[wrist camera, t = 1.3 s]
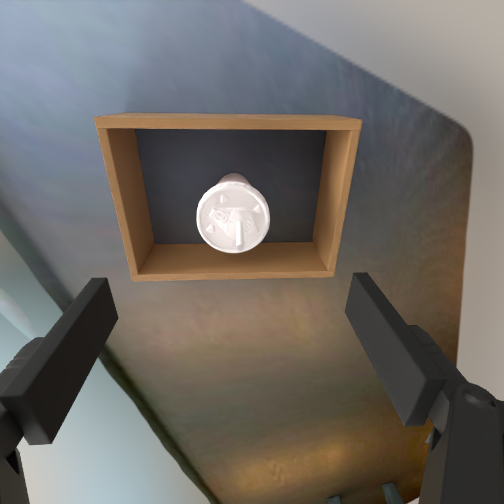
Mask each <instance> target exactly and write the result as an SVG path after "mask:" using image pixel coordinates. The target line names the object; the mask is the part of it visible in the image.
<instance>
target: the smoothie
mask: <svg viewBox="0 0 504 504" xmlns="http://www.w3.org/2000/svg"><path fill="white" fill-rule="evenodd" d="M269 224H270V214H269V209H268V205H267V203H266V201H265V199H264V197H263V196H262V195H261V194H260V193H259V191H258V190H256V189H255V188H253V187H252V186H251V185H250V184H249V182H248V181H247V179H246V178H245V177H244V176H242V175H240V174H238V173H229V174H227V175H225V176H223V177H222V178H221V180H220V181H219V182H218V184H217V185H216V186H214V187H212V188H211V189H210V190H208V191H207V192H206V193H205V194H204V195H203V197H202V199H201V201H200V202H199V205H198V209H197V226H198V230H199V232H200V234H201V236H202V237H203V239H204V240H205V241H206V242H207V243H208V244H209V245H211V246H212V247H214V248H215V249H217V250H220V251H223V252H227V253H240V252H244V251H247V250H250V249H252V248H253V247H255V246H256V245H258V244H259V243H260V242H261V241H262V240H263V238H264V237H265V235H266V233H267V231H268V229H269Z"/></svg>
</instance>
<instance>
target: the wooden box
mask: <svg viewBox="0 0 504 504" xmlns="http://www.w3.org/2000/svg"><path fill="white" fill-rule="evenodd" d="M94 120H95V124H96V128H97V132H98V137H99V141H100V145H101V149H102V154H103V158H104V162H105V166H106V171H107V175H108V179H109V183H110V188H111V192H112V196H113V201H114V205H115V209H116V213H117V218H118V222H119V226H120V230H121V235H122V239H123V243H124V247H125V252H126V256H127V260H128V264H129V269H130V273H131V278H132V281H162V280H210V279H258V278H306V277H334V272H335V266H336V261H337V256H338V250H339V245H340V239H341V234H342V228H343V223H344V218H345V212H346V207H347V201H348V196H349V191H350V185H351V180H352V174H353V169H354V164H355V158H356V153H357V147H358V142H359V136H360V130H361V126H362V121H363V120H360V119H355V118H349V117H344V116H338V115H283V114H195V113H119V114H112V115H105V116H98V117H94ZM135 128H147V129H266V130H327V132H326V139H325V147H324V155H323V162H322V170H321V178H320V185H319V193H318V201H317V208H316V216H315V224H314V231H313V239H312V242H276V243H259V244H258V245H256V246H255V247H253V248H252V249H250V250H247V251H244V252H240V253H227V252H223V251H220V250H217V249H215V248H214V247H212V246H211V245H209V244H208V243H204V244H155V242H154V236H153V230H152V225H151V219H150V213H149V207H148V202H147V196H146V190H145V184H144V179H143V173H142V167H141V161H140V156H139V150H138V144H137V138H136V133H135Z"/></svg>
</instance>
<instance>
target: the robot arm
mask: <svg viewBox="0 0 504 504" xmlns="http://www.w3.org/2000/svg"><path fill="white" fill-rule="evenodd" d="M345 313H346V315H347V317H348V319H349V321H350V323H351V325H352V327H353V329H354V331H355V333H356V335H357V336H358V338H359V340H360V342H361V344H362V346H363V348H364V350H365V352H366V354H367V356H368V358H369V360H370V361H371V363H372V365H373V367H374V369H375V371H376V373H377V375H378V377H379V379H380V381H381V383H382V385H383V386H384V388H385V390H386V392H387V394H388V396H389V398H390V400H391V402H392V404H393V406H394V408H395V410H396V411H397V413H398V415H399V417H400V419H401V421H402V423H403V425H404V426H418V425H424V423H425V421H426V419H427V417H428V416H429V418H430V419H431V421H432V423H433V424H434V427H433V429H432V431H431V433H430V435H429V436H428V438H427V440H426V442H427V443H428V444H429V448H428V454H427V459H426V465H425V470H424V476H423V481H422V487H421V492H420V497H419V503H418V504H504V401H500V400H497V399H496V398H495V397H494V396H493V395H492V394H490V393H489V392H488V391H487V390H485V389H483V388H482V387H480V386H478V385H475V384H472V383H469V382H468V381H467V380H466V379H465V378H464V376H462V374H461V373H460V372H459V371H458V369H457V368H456V367H455V366H454V364H453V363H452V362H451V361H450V360H449V358H448V357H447V356H446V355H445V353H443V352H442V350H441V349H440V347H439V346H438V345H436V343H435V341H434V340H433V339H432V338H431V337H430V335H429V334H428V333H427V332H425V331H424V330H423V329H421V328H420V327H418V326H417V325H407V324H406V323H405V321H404V320H403V319H402V317H401V316H400V315H399V314H398V312H397V311H396V310H395V308H394V307H393V306H392V304H391V303H390V302H389V301H388V299H387V298H386V297H385V295H384V294H383V293H382V291H381V290H380V289H379V287H378V286H377V285H376V284H375V282H374V281H373V280H372V278H371V277H370V276H369V274H368V273H353V277H352V281H351V286H350V290H349V295H348V299H347V304H346V309H345ZM117 320H118V315H117V311H116V308H115V304H114V301H113V297H112V293H111V290H110V286H109V283H108V279H107V278H91V280H90V281H89V282H88V283H87V285H86V286H85V287H84V289H83V290H82V291H81V292H80V294H79V295H78V296H77V297H76V299H75V300H74V301H73V302H72V304H71V305H70V306H69V307H68V309H67V310H66V311H65V312H64V314H63V315H62V316H61V317H60V319H59V320H58V321H57V322H56V324H55V325H54V326H53V327H52V329H51V330H50V331H49V333H48V334H47V335H46V336H45V337H38V338H35V339H33V340H32V341H30V342H29V343H28V344H26V345H25V346H24V347H23V348H22V349H21V350H20V351H19V352H18V353H17V355H16V356H15V357H14V359H13V360H12V361H10V363H9V364H8V365H7V366H6V369H4V370H3V371H2V372H1V373H0V504H30V503H29V498H28V493H27V488H26V483H25V478H24V473H23V468H22V463H21V457H20V453H19V451H18V449H17V448H16V447H17V445H18V444H19V442H20V441H21V439H22V437H23V436H24V438H25V439H26V441H27V442H28V444H29V445H43V444H52V442H53V440H54V438H55V437H56V435H57V433H58V431H59V429H60V427H61V425H62V423H63V422H64V420H65V418H66V416H67V414H68V412H69V410H70V408H71V407H72V405H73V403H74V401H75V399H76V397H77V395H78V393H79V391H80V390H81V388H82V386H83V384H84V382H85V380H86V378H87V376H88V374H89V373H90V371H91V369H92V367H93V365H94V363H95V361H96V359H97V358H98V356H99V354H100V352H101V350H102V348H103V346H104V344H105V342H106V341H107V339H108V337H109V335H110V333H111V331H112V329H113V327H114V326H115V324H116V322H117Z"/></svg>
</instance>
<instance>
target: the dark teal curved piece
mask: <svg viewBox="0 0 504 504" xmlns="http://www.w3.org/2000/svg"><path fill="white" fill-rule="evenodd" d="M382 489H383V491H384V495H385V498H386V500H387V503H388V504H404V502H403V500H402V498H401V497H400V495H399V493H398V491H397V489H396V487H395V485H394V483H388V484H383V485H382ZM328 504H342V501H341V499H340V497H339V495H338V496H336V497H333V498H328Z"/></svg>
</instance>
